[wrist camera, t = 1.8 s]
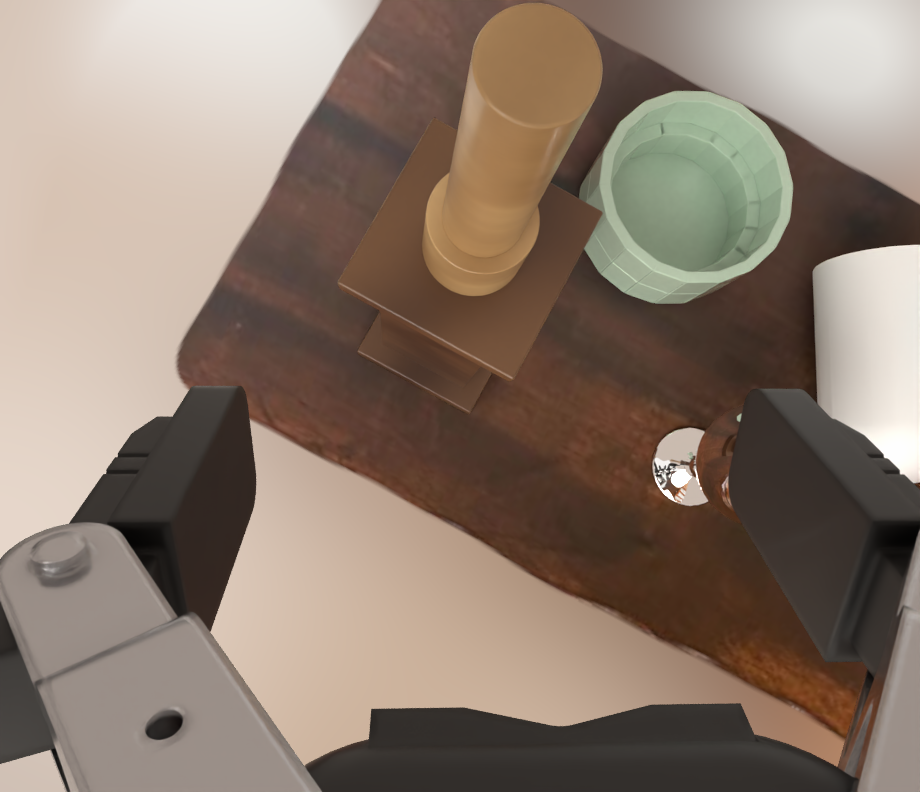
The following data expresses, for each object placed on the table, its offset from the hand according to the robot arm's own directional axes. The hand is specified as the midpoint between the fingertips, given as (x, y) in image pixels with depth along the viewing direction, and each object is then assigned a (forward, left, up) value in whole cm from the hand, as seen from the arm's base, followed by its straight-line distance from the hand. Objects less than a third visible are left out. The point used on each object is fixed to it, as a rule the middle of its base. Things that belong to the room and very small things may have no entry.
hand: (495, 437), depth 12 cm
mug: (+21, +17, -30) cm, 41 cm away
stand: (-3, +7, -30) cm, 31 cm away
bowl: (+5, +19, -30) cm, 36 cm away
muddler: (-3, +7, -14) cm, 16 cm away
